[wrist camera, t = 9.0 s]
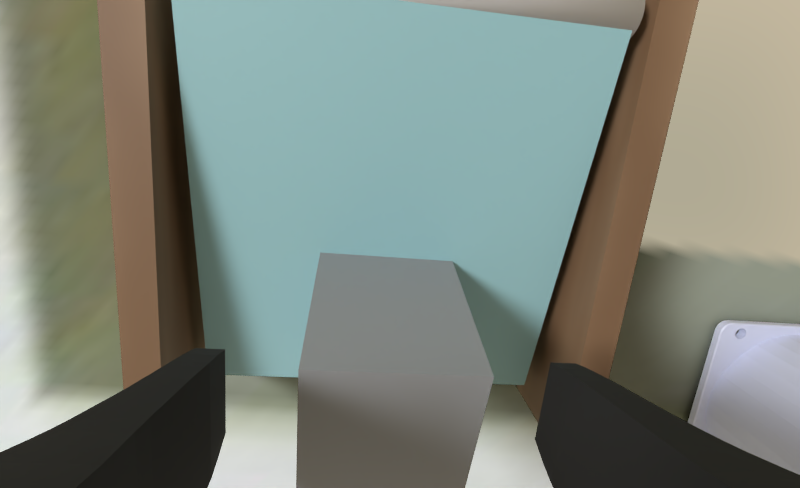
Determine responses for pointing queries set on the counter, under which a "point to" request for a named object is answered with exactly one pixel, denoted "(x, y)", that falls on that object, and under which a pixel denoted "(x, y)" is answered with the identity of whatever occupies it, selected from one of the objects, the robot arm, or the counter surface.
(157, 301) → the stand
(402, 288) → the slate block
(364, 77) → the trapdoor flap
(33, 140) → the counter surface
